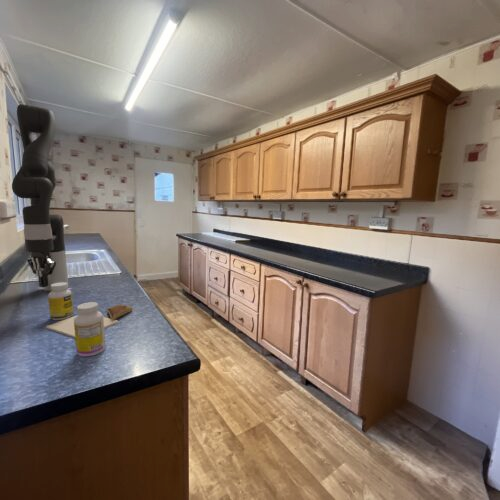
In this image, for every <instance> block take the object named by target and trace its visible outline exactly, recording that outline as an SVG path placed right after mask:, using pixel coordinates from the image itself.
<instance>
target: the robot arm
mask: <svg viewBox="0 0 500 500" xmlns="http://www.w3.org/2000/svg"><path fill="white" fill-rule="evenodd" d="M16 117H17V125H18V128H19V133H20V138H21V143H22V147H23V148H22V149H23V152H22V159H21V166H20V167H19V170H18V171H17V173H16V174H15V175H14V177H13V179H12V183H11V190H12V192H13V194H14V195H15V196H16V197H17V198H21V199H30V205H27V206H24V207H23V208H22V219H23V236H24V237H23V238H24V243H25V244H24V245H25V251H26V252H27V253H30V258H27V259H26V261H27V263H28V265H29V267H30V269H31V271H32V273H33V274H34V275H36V277H38V287H41V288H42V289H43V291H44V292H45V291H46V292H52V290H51V285H52V284H54V283H60V282H66V283H67V284H68V287H67V289H68V288H69V285H70V284H69V278H68V277H69V275H68V266H67V265H68V264H67V255H66V244H65V234H64V233H65V232H64V231H65V230H64V229H65V228H64V227H65V226H64V224H65V223H64V218H63V216H62V215H61V214H50V206H51V200H52V197H53V193H54V190H55V188H56V185H57V181H56V173H55V172H56V170H55V168H54V166H53V165H52V163H51V162H50V161H49V159H50V158H49V157H50V151H51V148H52V146H53V141H54V137H55V134H56V127H57V126H56V118H55V115H54V113H53V111H52V110H51V109H48V108H45V107H40V106H39V107H38V106H34V105H29V104H23V103H21V104H18V105H17V107H16ZM32 133H34V134H40V135H39V136H38V137H37V138H36V139H34V137H33V134H32ZM54 237H55V238H54Z"/></svg>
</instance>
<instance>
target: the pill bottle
mask: <svg viewBox="0 0 500 500" xmlns="http://www.w3.org/2000/svg"><path fill="white" fill-rule="evenodd" d="M68 285H69V283H68V284H67V283H66V282H60V283H54V284H52V285H51V290H52V291H49V293H48V296H47V298H48V305H49V307H48V308H49V317H50V319H51V320H53V321H63V320H65V319H68V318H71V317H73V315H74V308H73V307H74V305H73V295H72V294H73V293H72V291H71V290H70V289H68V288H69V287H68ZM67 287H68V288H67Z"/></svg>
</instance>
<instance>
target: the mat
mask: <svg viewBox="0 0 500 500" xmlns="http://www.w3.org/2000/svg"><path fill="white" fill-rule="evenodd" d="M77 315H78V314H77ZM77 315H74V316H71V317H69V318H66V319H62V320H59V321H57V322H54V323H52V324H48V325H46V326H45V327H46V329H47V330H50V331H52V332H56V333H60V334H62V335H65V336H68V337H70V338H74V339H75V329H74V318H75V317H76V316H77ZM103 320H104V330H105V329H108V328H110V327H111V326H114V325H116V324H118V323H119V320H117V319H114V320H113V319H112V318H111V317H106V316H103Z"/></svg>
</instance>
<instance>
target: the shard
mask: <svg viewBox="0 0 500 500" xmlns="http://www.w3.org/2000/svg"><path fill="white" fill-rule="evenodd" d="M132 311H133V307H131V306H130V305H124V304H123V305H122V304H116V305H114V306H111V307H108V308H107V312H108V313H109V318H110V319H113V320H117V318H119V317H121V316H124V315H125V314H128V313H129V312H132Z"/></svg>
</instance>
